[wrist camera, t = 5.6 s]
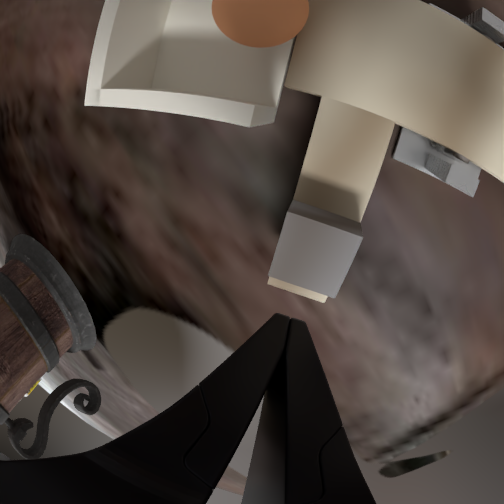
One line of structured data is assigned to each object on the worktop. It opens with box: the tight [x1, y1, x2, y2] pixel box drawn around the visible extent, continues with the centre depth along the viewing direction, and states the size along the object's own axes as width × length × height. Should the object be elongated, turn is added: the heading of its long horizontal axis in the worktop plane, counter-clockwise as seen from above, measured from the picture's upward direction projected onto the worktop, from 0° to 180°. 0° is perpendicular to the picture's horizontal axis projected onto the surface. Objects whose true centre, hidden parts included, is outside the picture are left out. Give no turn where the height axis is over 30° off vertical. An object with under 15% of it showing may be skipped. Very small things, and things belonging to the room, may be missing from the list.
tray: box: [84, 0, 296, 127], centre depth 9 cm, size 8×10×4 cm
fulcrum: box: [392, 3, 504, 197], centre depth 8 cm, size 5×9×3 cm, turn 167°
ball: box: [212, 0, 309, 48], centre depth 7 cm, size 4×4×4 cm
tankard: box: [0, 234, 101, 459], centre depth 20 cm, size 24×17×20 cm
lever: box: [268, 0, 504, 303], centre depth 9 cm, size 16×15×2 cm
